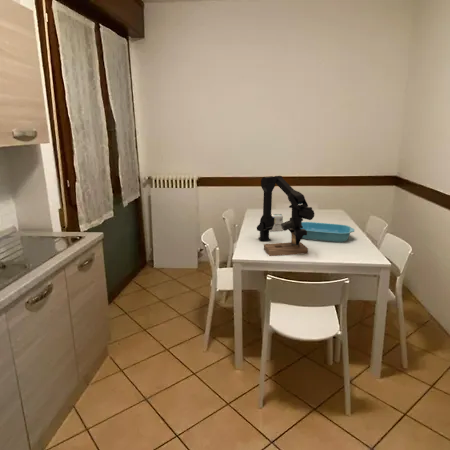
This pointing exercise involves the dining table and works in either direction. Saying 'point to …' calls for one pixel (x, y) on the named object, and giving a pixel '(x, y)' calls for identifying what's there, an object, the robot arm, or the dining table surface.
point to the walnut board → (284, 249)
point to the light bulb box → (277, 222)
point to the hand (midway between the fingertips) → (295, 243)
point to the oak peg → (294, 241)
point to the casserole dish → (326, 231)
